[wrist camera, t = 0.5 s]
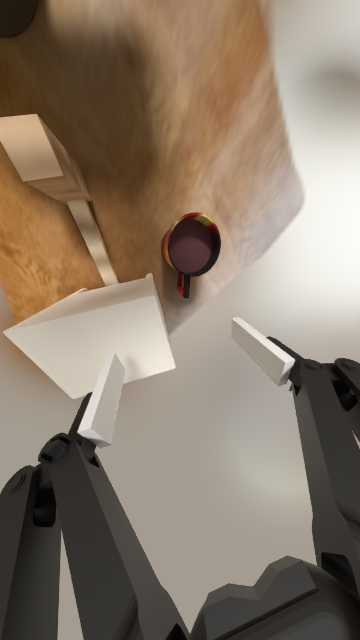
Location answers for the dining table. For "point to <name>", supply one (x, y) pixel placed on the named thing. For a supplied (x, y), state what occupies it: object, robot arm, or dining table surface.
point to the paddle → (55, 179)
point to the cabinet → (98, 335)
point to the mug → (191, 247)
